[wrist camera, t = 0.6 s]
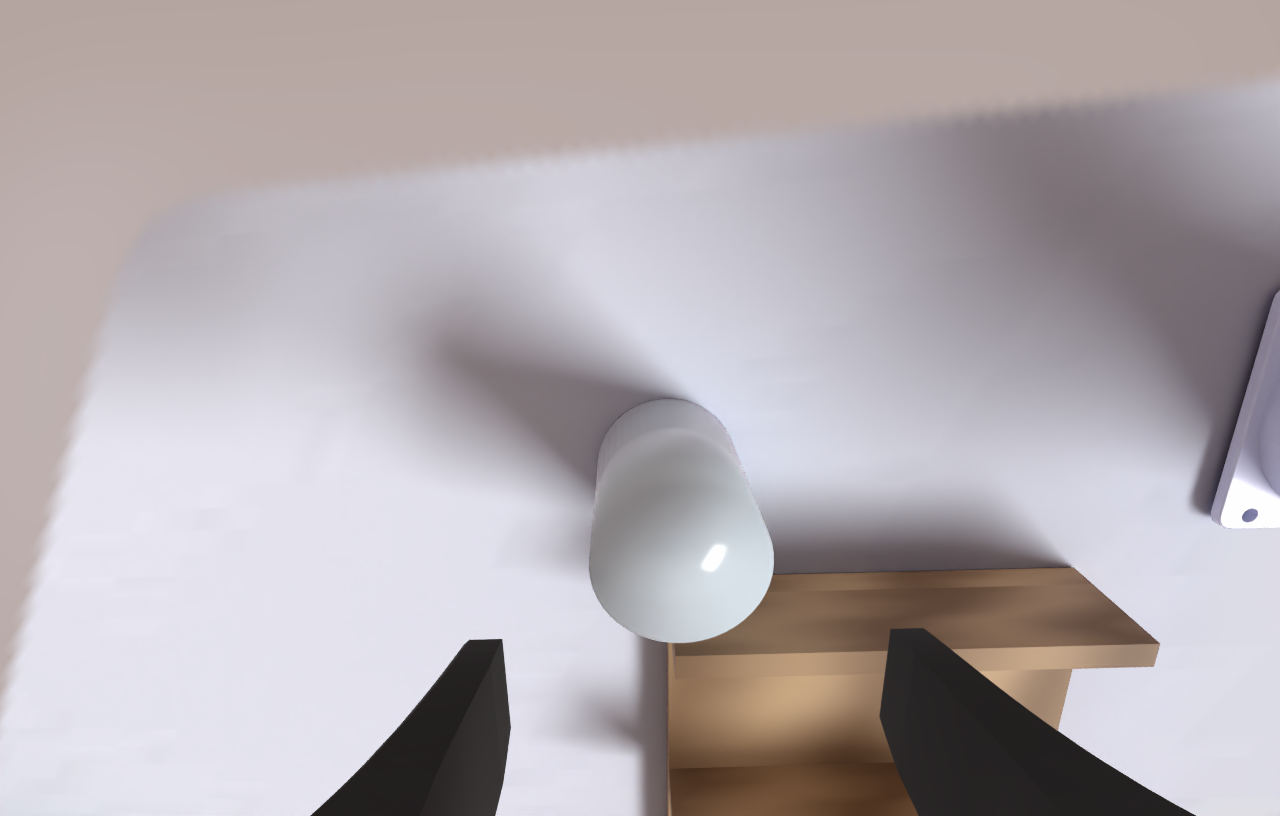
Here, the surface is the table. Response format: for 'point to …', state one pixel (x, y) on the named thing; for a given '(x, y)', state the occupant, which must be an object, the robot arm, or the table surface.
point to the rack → (865, 680)
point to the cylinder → (676, 526)
